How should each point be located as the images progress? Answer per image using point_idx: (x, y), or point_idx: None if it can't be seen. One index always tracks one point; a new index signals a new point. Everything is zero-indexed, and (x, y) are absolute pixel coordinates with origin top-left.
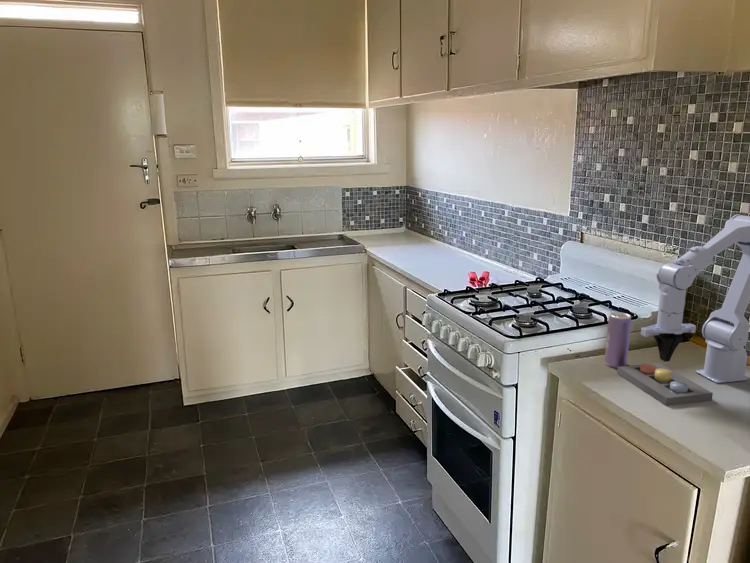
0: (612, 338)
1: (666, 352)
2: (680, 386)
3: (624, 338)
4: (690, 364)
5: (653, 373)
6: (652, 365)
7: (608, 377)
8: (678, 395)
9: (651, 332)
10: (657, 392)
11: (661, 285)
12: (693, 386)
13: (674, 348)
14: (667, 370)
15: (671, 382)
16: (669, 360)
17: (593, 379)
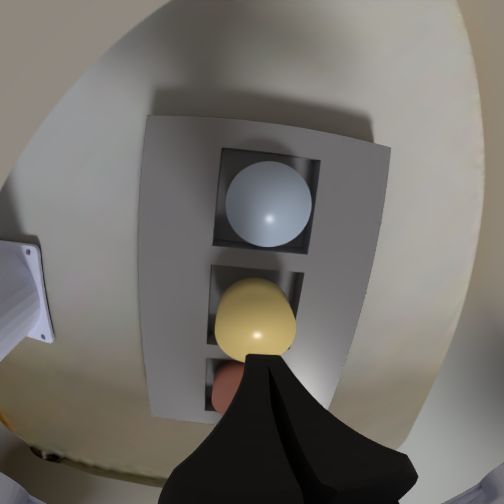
0: None
1: (309, 393)
2: (282, 182)
3: None
4: (46, 379)
5: (241, 365)
6: (218, 403)
7: (362, 389)
8: (327, 144)
9: (500, 497)
10: (383, 206)
11: None
12: (174, 200)
13: (239, 413)
14: (225, 335)
15: (286, 239)
16: (249, 356)
17: (407, 382)
